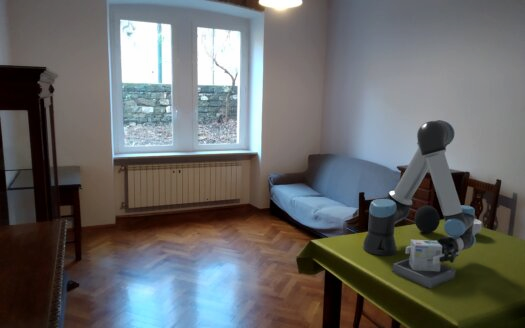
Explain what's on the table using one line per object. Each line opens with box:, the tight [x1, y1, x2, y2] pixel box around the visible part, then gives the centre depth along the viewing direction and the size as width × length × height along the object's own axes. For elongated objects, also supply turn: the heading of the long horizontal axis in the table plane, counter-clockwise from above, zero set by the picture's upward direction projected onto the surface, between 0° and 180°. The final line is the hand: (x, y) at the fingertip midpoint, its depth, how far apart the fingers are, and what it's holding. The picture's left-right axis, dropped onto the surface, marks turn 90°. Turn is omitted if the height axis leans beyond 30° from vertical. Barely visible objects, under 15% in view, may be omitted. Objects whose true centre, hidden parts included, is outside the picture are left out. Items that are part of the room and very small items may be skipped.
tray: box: [392, 257, 456, 289], centre depth 158 cm, size 17×17×4 cm
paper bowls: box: [473, 218, 483, 236], centre depth 209 cm, size 15×15×8 cm
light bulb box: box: [409, 238, 442, 272], centre depth 157 cm, size 11×7×11 cm, turn 84°
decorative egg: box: [414, 204, 441, 234], centre depth 208 cm, size 12×12×15 cm
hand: (419, 255), depth 154 cm, fingers closed on light bulb box, 11 cm apart
